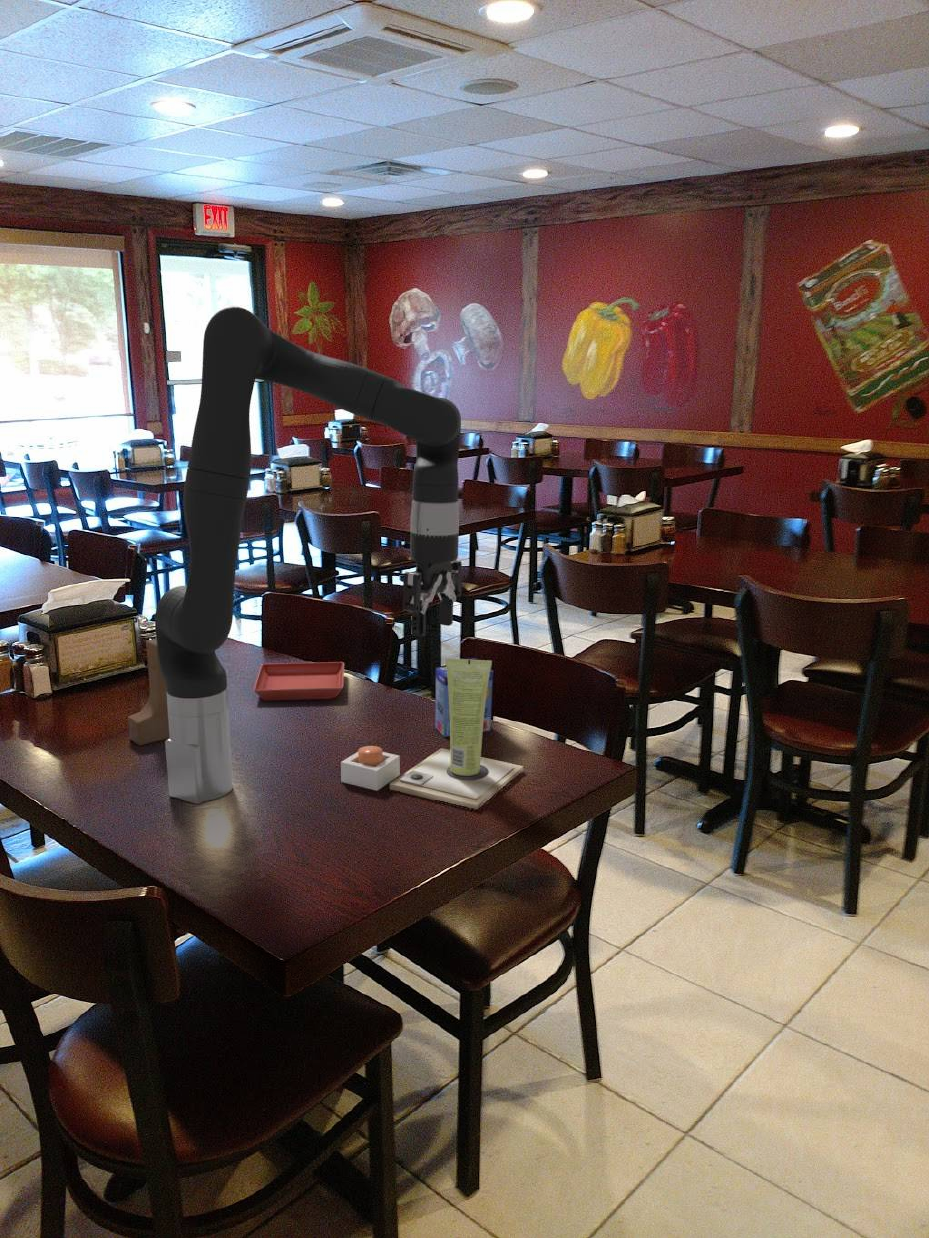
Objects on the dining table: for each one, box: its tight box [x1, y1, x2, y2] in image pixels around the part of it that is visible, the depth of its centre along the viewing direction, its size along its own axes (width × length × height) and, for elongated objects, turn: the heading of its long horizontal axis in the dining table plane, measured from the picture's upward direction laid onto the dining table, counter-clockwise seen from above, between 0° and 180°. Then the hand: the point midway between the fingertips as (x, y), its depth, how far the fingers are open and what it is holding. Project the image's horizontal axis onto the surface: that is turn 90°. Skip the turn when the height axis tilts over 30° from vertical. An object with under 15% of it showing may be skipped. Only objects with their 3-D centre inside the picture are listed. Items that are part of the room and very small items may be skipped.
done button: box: [357, 745, 384, 767], centre depth 161 cm, size 4×4×4 cm
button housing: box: [340, 751, 401, 791], centre depth 161 cm, size 7×7×4 cm
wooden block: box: [127, 638, 170, 746], centre depth 176 cm, size 9×4×18 cm, turn 132°
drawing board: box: [389, 747, 524, 809], centre depth 161 cm, size 17×16×2 cm
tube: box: [444, 657, 493, 776], centre depth 160 cm, size 6×5×20 cm
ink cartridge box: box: [434, 657, 494, 738], centre depth 182 cm, size 10×6×14 cm, turn 113°
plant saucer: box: [253, 661, 345, 701], centre depth 205 cm, size 18×18×3 cm
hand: (432, 630), depth 155 cm, fingers open, 8 cm apart
